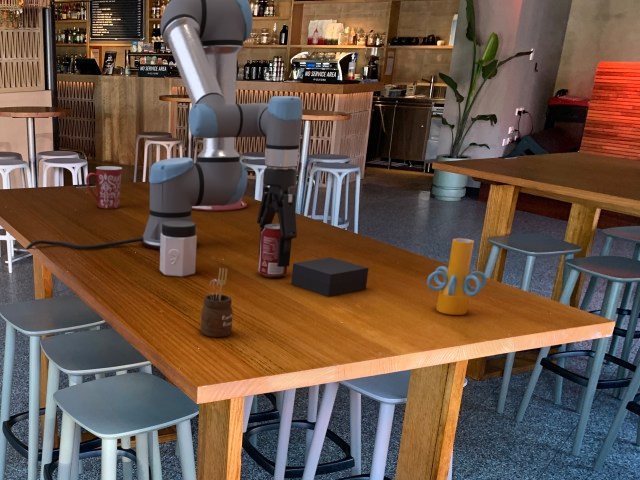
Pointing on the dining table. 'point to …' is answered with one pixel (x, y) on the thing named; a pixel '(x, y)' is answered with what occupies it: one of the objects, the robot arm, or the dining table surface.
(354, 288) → the pad bottom
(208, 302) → the utensil holder
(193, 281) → the dining table surface
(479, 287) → the cylinder
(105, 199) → the mug
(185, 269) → the jar
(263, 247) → the soda can
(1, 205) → the dining table surface
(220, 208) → the cake
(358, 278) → the pad top
